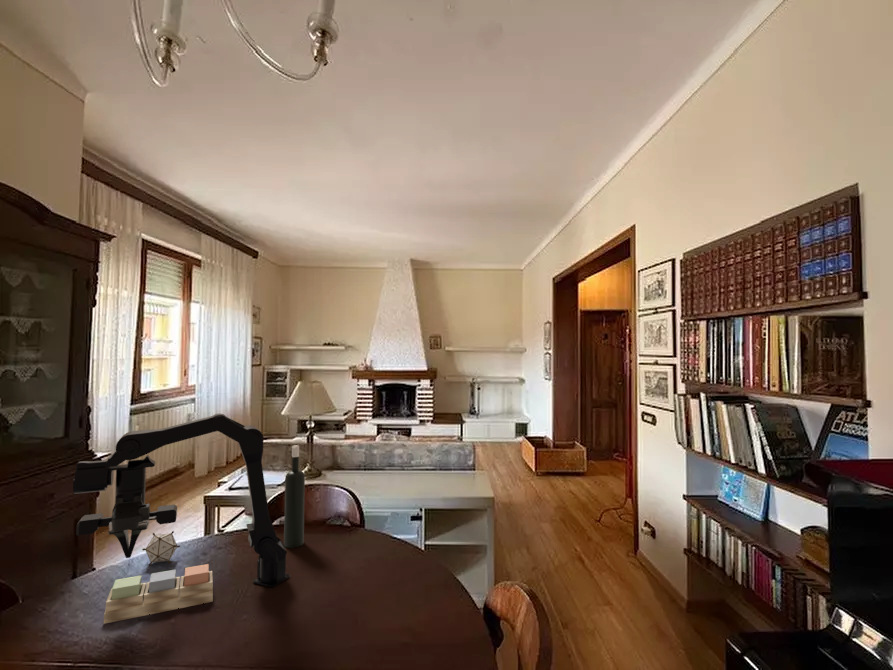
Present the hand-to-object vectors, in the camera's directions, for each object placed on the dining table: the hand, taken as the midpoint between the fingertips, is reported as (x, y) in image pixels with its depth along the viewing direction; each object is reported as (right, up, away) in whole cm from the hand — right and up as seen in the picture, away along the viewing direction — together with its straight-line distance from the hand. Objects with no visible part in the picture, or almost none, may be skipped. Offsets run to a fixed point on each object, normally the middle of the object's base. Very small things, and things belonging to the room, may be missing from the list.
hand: (128, 557), depth 108 cm
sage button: (0, -9, 0) cm, 9 cm away
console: (+6, -12, +3) cm, 14 cm away
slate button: (+6, -9, +3) cm, 11 cm away
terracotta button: (+12, -9, +6) cm, 16 cm away
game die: (-7, -13, +25) cm, 29 cm away
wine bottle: (+26, -14, +38) cm, 48 cm away
